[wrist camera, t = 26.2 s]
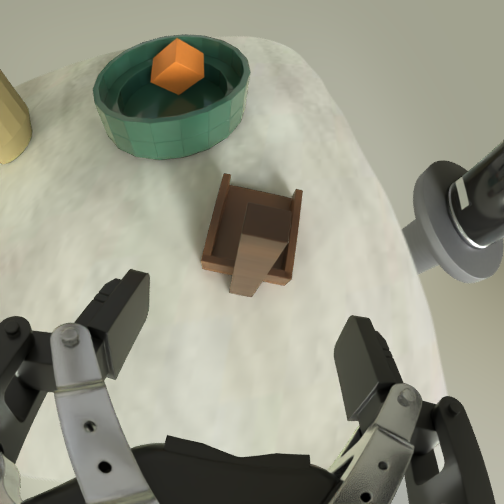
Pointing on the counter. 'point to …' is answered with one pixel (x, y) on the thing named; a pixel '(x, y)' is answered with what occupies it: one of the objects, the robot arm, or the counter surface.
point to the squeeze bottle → (12, 122)
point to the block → (177, 67)
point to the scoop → (252, 237)
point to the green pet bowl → (172, 100)
